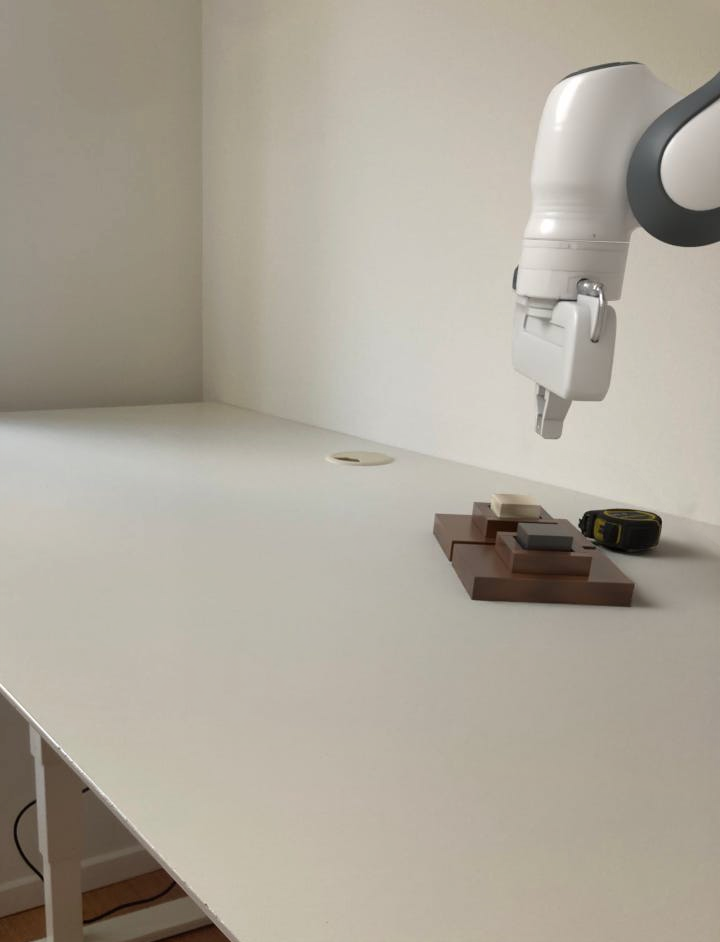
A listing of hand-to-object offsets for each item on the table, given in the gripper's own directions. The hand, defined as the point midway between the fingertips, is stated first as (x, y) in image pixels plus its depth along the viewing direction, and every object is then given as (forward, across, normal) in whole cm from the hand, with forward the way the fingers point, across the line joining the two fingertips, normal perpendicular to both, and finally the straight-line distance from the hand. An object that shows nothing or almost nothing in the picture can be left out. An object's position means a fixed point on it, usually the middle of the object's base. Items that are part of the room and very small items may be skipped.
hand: (546, 436), depth 94 cm
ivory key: (+9, +6, 0) cm, 11 cm away
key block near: (+13, -5, 0) cm, 14 cm away
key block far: (+13, +6, 0) cm, 14 cm away
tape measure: (+13, +10, -12) cm, 20 cm away
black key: (+9, -5, 0) cm, 10 cm away
